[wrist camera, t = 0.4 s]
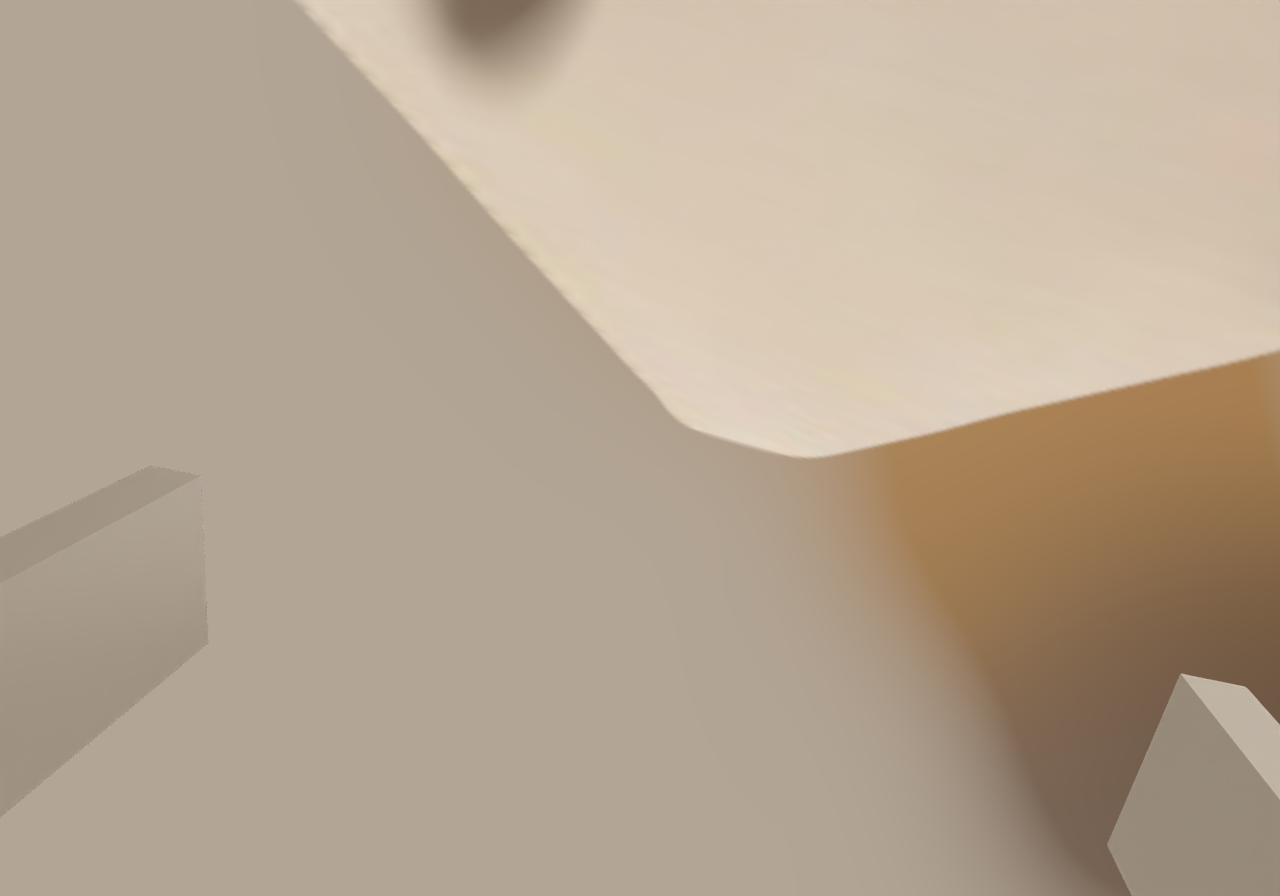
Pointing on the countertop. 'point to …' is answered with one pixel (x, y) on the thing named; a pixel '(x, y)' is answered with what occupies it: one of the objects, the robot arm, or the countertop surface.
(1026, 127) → the countertop surface
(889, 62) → the countertop surface
